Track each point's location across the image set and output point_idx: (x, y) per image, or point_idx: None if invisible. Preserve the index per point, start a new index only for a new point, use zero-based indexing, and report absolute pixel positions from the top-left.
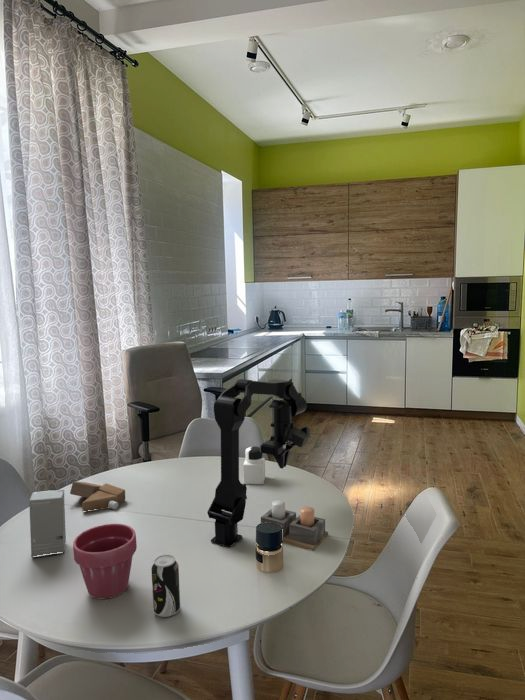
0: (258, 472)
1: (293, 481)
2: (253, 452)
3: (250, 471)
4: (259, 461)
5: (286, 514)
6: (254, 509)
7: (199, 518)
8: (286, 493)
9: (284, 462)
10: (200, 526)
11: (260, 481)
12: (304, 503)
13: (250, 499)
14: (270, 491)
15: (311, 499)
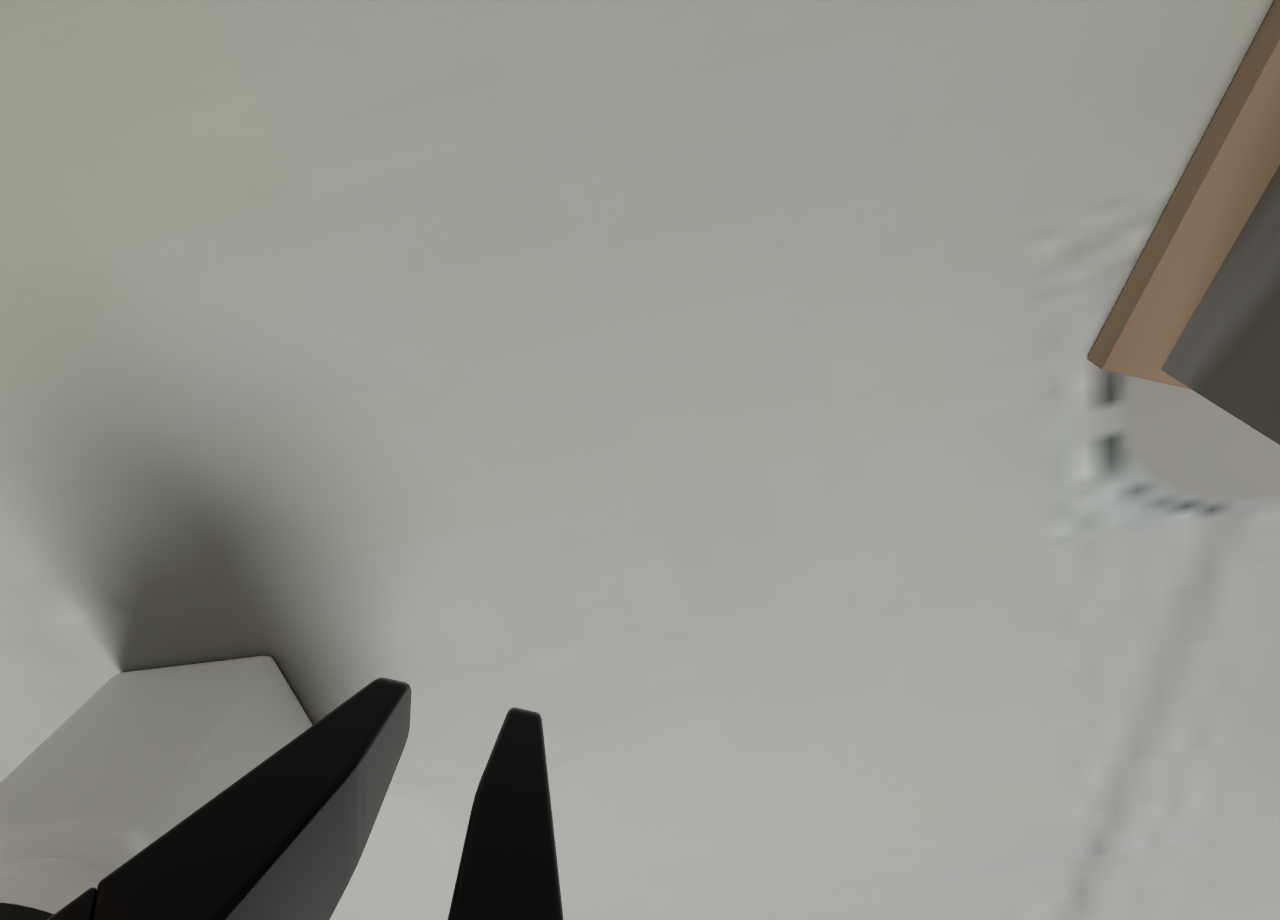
0: (220, 785)
1: (32, 413)
2: None
3: None
4: (86, 883)
5: None
6: (817, 608)
7: (1050, 905)
8: (347, 411)
9: (359, 794)
10: (1197, 878)
11: (269, 694)
12: (515, 127)
13: (615, 680)
14: (379, 566)
15: (363, 60)
